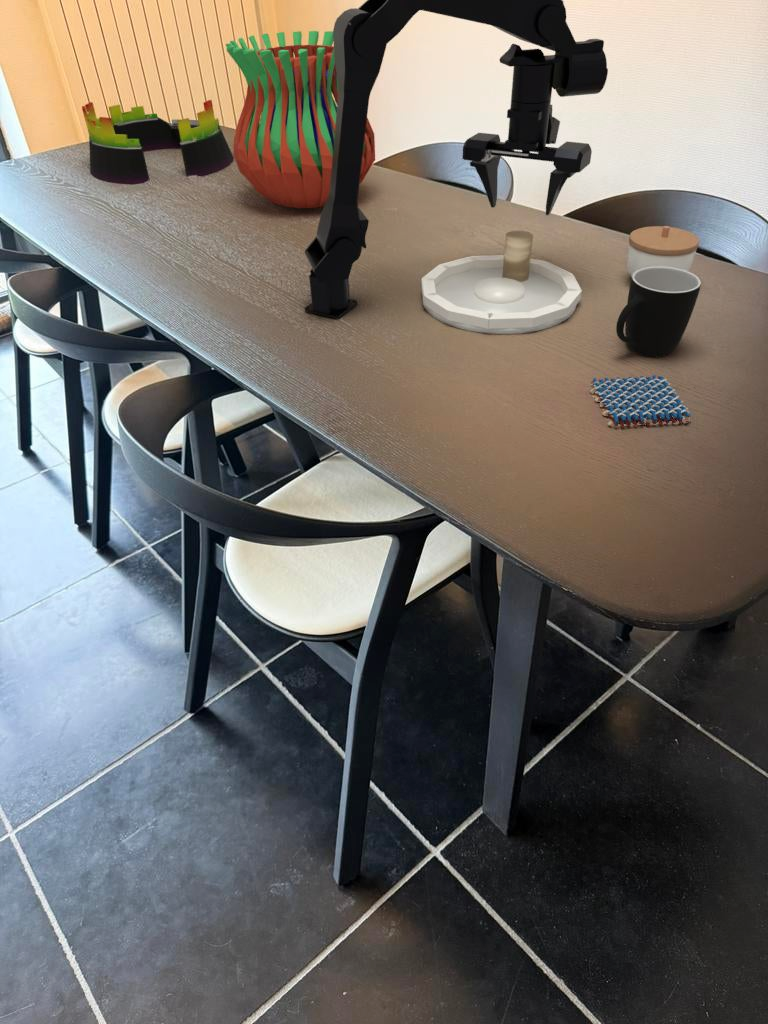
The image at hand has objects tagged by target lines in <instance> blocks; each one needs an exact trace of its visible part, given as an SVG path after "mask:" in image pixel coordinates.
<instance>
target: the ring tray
mask: <svg viewBox="0 0 768 1024" xmlns="http://www.w3.org/2000/svg"><path fill="white" fill-rule="evenodd" d="M503 262H504V254H496V255H495V254H493V255H470V256H467V257H462V258H457V259H455V260H451V261H447V262H444V263H439V264H438V265H436V266H435V267H434V268H433V269H432V270H431V271H429V272H428V273H426V275H424V276H422V278H421V281H420V283H421V294H422V304H423V308H424V309H425V311H427V312H428V313H429V315H431V316H432V317H433V318H435V319H437V320H438V321H440V322H441V323H444V324H446V325H447V326H448V325H449V326H451V327H454V328H457V329H460V330H461V329H462V330H464V331H468V332H473V333H474V332H475V333H479V334H480V333H482V334H489V335H491V334H493V335H494V334H495V335H516V334H528V333H532V332H539V331H543V330H546V329H551V328H552V327H555V326H557V325H559V324H562V323H564V322H565V321H566V320H568V319H570V317H571V316H572V315H573V314H575V311H576V309H577V304H578V303H579V302H580V301H581V299H582V298H581V297H582V291H583V290H582V288H581V286H580V284H579V282H578V281H577V279H576V277H575V275H574V274H573V273H571V272H570V271H568V270H566V269H563V268H561V267H559V266H557V265H555V264H553V263H551V262H549V261H547V260H543V259H542V260H541V259H536V258H531V259H530V268H529V277H528V279H527V280H526V281H523V282H519V281H516V280H513V279H509V278H502V274H503Z"/></svg>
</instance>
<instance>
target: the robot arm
mask: <svg viewBox="0 0 768 1024" xmlns="http://www.w3.org/2000/svg"><path fill="white" fill-rule="evenodd" d="M564 3H565V2H564V1H563V0H365V2H364V3H362V4H361V6H359V7H358V8H355V7H354V8H349V9H346V10H344V11H343V12H342V13H341V14H340V15H339V16H338V17H337V18H336V20H335V22H334V25H333V30H332V31H333V46H334V58H335V66H336V72H337V79H338V87H339V91H338V103H337V104H336V106H337V114H336V125H335V136H334V148H333V159H332V170H331V181H330V192H329V197H328V199H327V201H326V204H325V206H323V207H322V208H323V209H322V211H321V214H320V217H319V222H318V226H317V230H316V236H315V237H314V239H312V240H311V242H310V243H309V245H308V246H307V247H306V248H305V250H304V254H305V257H306V259H307V260H308V261H307V262H308V263H309V265H310V267H311V269H310V271H309V272H310V273H309V276H308V278H309V291H310V299H311V303H309V304H307V306H306V307H305V306H304V312H306V313H310V314H314V315H319V316H323V317H327V318H332V319H337V320H338V319H339V318H341V317H342V316H344V315H345V314H346V313H348V312H349V311H350V310H351V309H353V308H354V307H355V306H357V305H358V300H355V299H351V298H350V283H349V281H350V280H349V277H350V275H351V270H352V268H353V264H354V263H355V262H356V261H358V260H359V259H360V257H361V254H362V251H363V249H366V248H367V243H366V235H367V231H368V227H369V222H370V221H369V219H368V218H367V216H366V215H365V214H364V212H363V211H362V210H361V208H360V207H359V205H358V204H359V203H358V202H359V191H360V185H361V184H360V175H361V166H362V158H363V149H364V140H365V131H366V122H367V118H368V113H369V111H368V110H369V103H370V96H371V93H372V90H373V88H374V85H375V83H376V81H377V78H378V76H379V73H380V71H381V67H382V64H383V61H384V57H385V53H386V50H387V49H386V48H387V45H388V44H389V43H390V42H391V41H392V40H393V39H394V38H395V37H396V36H398V35H399V33H401V31H403V29H404V28H405V27H406V25H407V24H408V23H409V22H410V21H411V19H412V18H413V17H414V16H415V15H416V14H417V13H419V11H424V12H429V13H432V14H433V13H434V14H437V15H442V16H446V17H452V18H456V19H460V20H465V21H470V22H475V23H477V24H478V23H480V24H483V25H489V26H492V27H494V28H496V29H497V30H500V31H502V32H503V33H505V34H507V35H509V36H512V37H515V38H516V39H518V40H521V41H523V42H525V43H529V44H532V45H536V46H538V47H541V48H544V49H547V50H550V51H553V52H555V53H554V54H551V55H550V54H549V55H547V54H546V55H545V54H544V52H543V50H542V49H540V48H530V49H522V48H521V46H520V45H518V44H516V43H512V44H511V45H510V47H509V49H508V50H507V51H506V52H504V53H503V54H502V55H501V56H500V58H499V63H500V64H503V65H506V66H508V67H513V71H512V84H511V96H510V97H511V98H510V108H509V109H507V110H506V111H507V113H506V118H507V119H508V120H509V122H508V135H507V139H506V140H505V141H501V138H500V135H499V134H498V133H497V134H496V133H495V134H494V133H485V132H477V133H476V134H474V135H472V136H471V137H469V138H466V140H465V141H464V143H463V146H462V159H463V161H470V162H469V166H470V167H473V168H474V169H475V170H476V172H477V174H478V177H479V178H480V180H481V181H480V182H482V185H483V189H484V191H485V194H486V196H487V199H488V201H489V206H490V207H491V208H496V206H497V199H498V174H499V173H498V172H499V170H498V169H499V165H500V160H501V158H502V157H509V158H516V159H517V158H518V159H526V160H535V161H544V162H552V163H553V166H554V168H555V169H554V170H552V171H551V172H550V175H549V176H550V177H549V180H548V181H549V182H548V188H547V189H548V190H547V196H546V202H545V215H546V216H550V214H552V213H551V212H552V210H553V208H554V206H555V204H556V202H557V199H558V198H559V195H560V192H561V191H562V189H563V186H564V185H565V183H566V182H567V180H568V179H570V178H572V177H573V176H574V175H575V174H576V173H578V174H579V173H581V172H582V171H583V170H584V169H585V168H586V167H588V166H589V165H590V163H591V158H592V152H593V151H592V147H591V146H590V144H589V143H585V142H575V141H566V142H564V143H563V144H561V145H560V146H558V147H554V146H553V147H551V146H547V145H555V144H556V143H557V138H558V133H559V130H560V124H561V121H560V120H559V119H557V118H556V117H555V116H553V104H551V101H552V92H553V89H554V90H555V91H556V94H557V95H558V96H559V97H560V98H562V97H563V98H565V97H574V96H575V97H577V96H587V95H596V94H599V93H601V92H602V90H603V89H604V87H605V85H606V83H607V78H608V73H609V70H608V69H609V68H608V67H607V66H608V63H607V62H608V61H607V57H606V56H607V55H606V53H605V51H604V44H605V41H604V40H603V39H601V38H590V39H589V38H588V39H586V40H582V41H581V40H580V41H576V40H575V37H574V35H573V33H572V31H571V30H570V29H571V28H570V27H569V25H568V23H567V8H566V7H565V4H564ZM359 184H360V185H359Z"/></svg>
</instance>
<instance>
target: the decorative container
mask: <svg viewBox="0 0 768 1024" xmlns="http://www.w3.org/2000/svg"><path fill="white" fill-rule="evenodd" d="M202 104H203V109H204V110H202V111H200V112H197V113H196V115H197V119H190V118H189V117H188V118H187V117H186V118H181V119H171V123H169V122H167V121H166V120H164V119H162V118H160V117H159V116H158V114H157V113H147V114H146V113H145V108H144V105H139V106H133V107H130V109H131V110H130V111H129V110H128V111H124V112H122V108H121V105H120V104H115V105H110V106H108V112H109V115H110V117H106V116H99V117H98V118H97V114H96V110H95V107H94V103H93V102H92V101H90V102H88V103H86V104H84V105H82V106H81V110H82V113H83V117H84V120H85V121H84V122H85V125H86V128H87V131H88V141H89V142H88V145H89V169H90V170H89V171H90V175H91V176H92V177H93V178H95V179H97V180H99V181H102V182H105V183H111V184H118V185H130V186H131V185H133V186H134V185H140V184H146V183H147V182H148V183H150V182H151V180H150V175H149V171H148V166H147V161H146V158H145V154H144V153H145V152H153V151H158V150H160V151H161V150H173V149H178V150H179V149H180V150H181V155H182V160H183V165H184V170H185V176H187V177H186V178H188V177H190V178H199V177H198V176H201V177H207V176H209V174H210V175H212V174H216V173H218V172H220V171H222V170H224V169H226V168H228V167H229V166H231V164H233V162H234V160H235V157H234V154H233V153H232V151H231V149H230V147H229V144H228V142H227V140H226V137H225V135H224V133H223V131H222V128H221V126H220V121H219V117H218V118H217V117H216V118H215V114H214V105H213V101H212V99H208V100H206V101H204V102H203V103H202ZM206 175H207V176H206ZM149 181H150V182H149ZM148 183H147V184H148Z"/></svg>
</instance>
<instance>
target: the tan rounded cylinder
mask: <svg viewBox="0 0 768 1024" xmlns="http://www.w3.org/2000/svg"><path fill="white" fill-rule="evenodd" d="M533 239H534V234H533V233H532V232H529V231H525V230H511V231H509V232H507V233H505V240H504V250H503V251H504V252H503V255H504V262H503V274H502V278H509V279H513V280H516V281H519V282H523V281H526V280H527V279H528V277H529V268H530V259H532V250H533V249H532V248H533Z"/></svg>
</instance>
